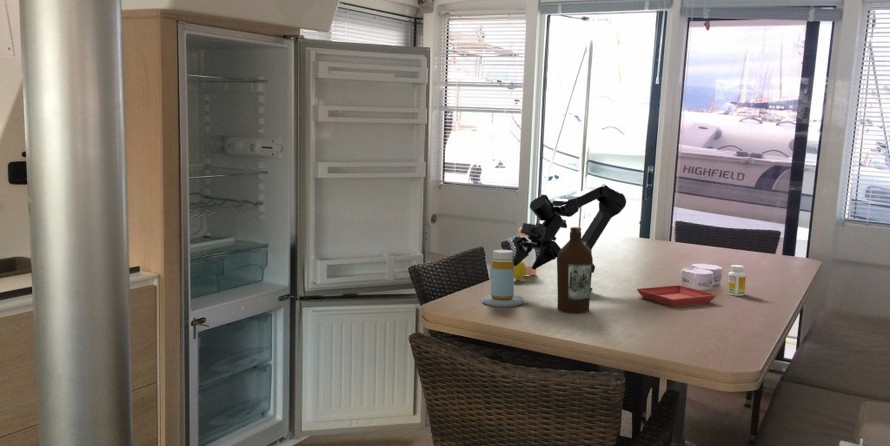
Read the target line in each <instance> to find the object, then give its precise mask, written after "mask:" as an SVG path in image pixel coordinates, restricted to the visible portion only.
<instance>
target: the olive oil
mask: <svg viewBox="0 0 890 446" xmlns="http://www.w3.org/2000/svg"><path fill="white" fill-rule="evenodd" d="M569 230H570V231H569V240H568V241H567V242H566V243H565V244H564V245H563V246H562V248H561V250H560V251H559V253H558V256H557V258H556V275H557V276H556V278H557V279H556V280H557V281H556V282H557V286H556V287H557V310H558V311H560V312H563V313H568V314H569V313H570V314H583V313H584V314H585V313H588V312H589V311H590V303H591V302H590V299H591V290H590V288H592V286H591V285H592V276H593V275H592V274H593V273H592V265H593V264H594V263H593V262H594V260H593V259H594V257H593V253H592V254H591V252H590V250H589V249H588V248H587V247H586V246H585V245H584V243H583V242H582V241H581V238H582V232H581V231H582V228H581V227H579V226H578V227H577V226H571V227H570V229H569Z"/></svg>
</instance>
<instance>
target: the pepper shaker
mask: <svg viewBox="0 0 890 446" xmlns="http://www.w3.org/2000/svg"><path fill="white" fill-rule="evenodd" d="M521 229H522V226H520V227H519V228H518V230H517V232H518V235H519V237H525V238H526V239H527V240H528V241H529V242H531V240H529V238H528V235H526V234H524V233H521ZM528 254H529V255H528V256H527V257H526V258H525V259H524V260H522V261H523V262H524V263H525V266H526V274H525V275H535V276H536V275H537V269H535V270H533V269H532V266H533V264H534V262H535V260H536V259H537V255H536V249H532V250H531V252H529V253H528Z"/></svg>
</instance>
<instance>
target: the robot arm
mask: <svg viewBox="0 0 890 446" xmlns="http://www.w3.org/2000/svg"><path fill="white" fill-rule="evenodd" d="M595 200H597V202H598V212H597V213H596V215H595V216H594V218H593V219H592V221H591V222H590V224H589V226H588V227H587V229H586V230H585V232H584V234H583V235H581V241H582V242H583V243H584V245H585V246H586V247H587V248H588V249H589V250H590V252H591V254H592V255H593V253H592V252H593V251H592V249H594V247H595V244H596V243H597V242H598V240H599V238H600V237H601V235H602V234H603V232H604V230H606V227H607V226H608V224H609V222H610V221H611V219H612V218H613V217H615V216H617V215H618V214H620V213H621V212H622V211H623V210H624V209H625V207H626V205H627V198H626V196H625V195H624V194H623V193H621V192H618V191H616V190H614V189H613V188H611V187H609V186H608V185H606V184H604V183H603V184H601V183H595V184H593V185H592V186H590V187H588V188H586V189H583V190H581V191H579V192H578V193H575V194H573V195H570V196H569V195H568V196H562V197H558V198H557V197H556V198H555V199H553V200H552V201H551V200H550V198H549V196H548V195H547V194H540V196H539V197H536V198H534V199H533V200H531V202H530V203H529V209H530V210H531V212H532V213H533V214H534V215H535V216H536V218H537V219H538V220H539V221H542V223H539V222H536V223H535V224H533V223H526V222H523V224H522V226H521V227H522V229H521V233H524V234H526V235H528V238H529V240H531V242H529V241H528V240H527V239H526V238H525V237H520V235H519V236H515V237H514V238H513V240H512V242H511V243H513V245H514V247H515V254H514V257H513V265H514V266H517V265H518V264H519V263H520V262H521V261H522V260H524V259H525V258H526V257H527V256H528V255H529V254H528V253H529V252H531V250H532V249H535V250H538V251H539V254H538V255H537V256H536V260H535V262H534V264H533V266H532V269H533V270H535V269H536V270H537V269H538V268H540V267H541V266H543V265H546V264H547V263H549V262H551V261H554V260H557V256H558V253H559V251H560V250H561V249H562V248H561V247H560V245H559V244H558V242H556V240H557V237H556V236H557V234H558V232H559V231H560V229H567V228H568V224H567V219H563V217H566V218H569V217H572V216H574V215H575V214H576V213H578V212H579V210H580V208H582V207H583V206H585V205H588V204H590V203H592V202H593V201H595ZM595 270H596V266H595V264H594V263H593V265H592V274H593V273H594V272H595ZM591 290H593V287H591V288H590V291H591Z"/></svg>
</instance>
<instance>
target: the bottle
mask: <svg viewBox="0 0 890 446" xmlns="http://www.w3.org/2000/svg"><path fill="white" fill-rule="evenodd" d="M492 260H493V261H492V263H491V271H490V273H491V274H490V275H491V276H490V278H491V280H490V285H491V286H490V295H491V297H492V298H493V299H496V300H510V299H512V298H513V295H514V285H515V284H514V283H515V278H514V265H513V262H514V252H513V250H510V249H494V250H493V251H492Z"/></svg>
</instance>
